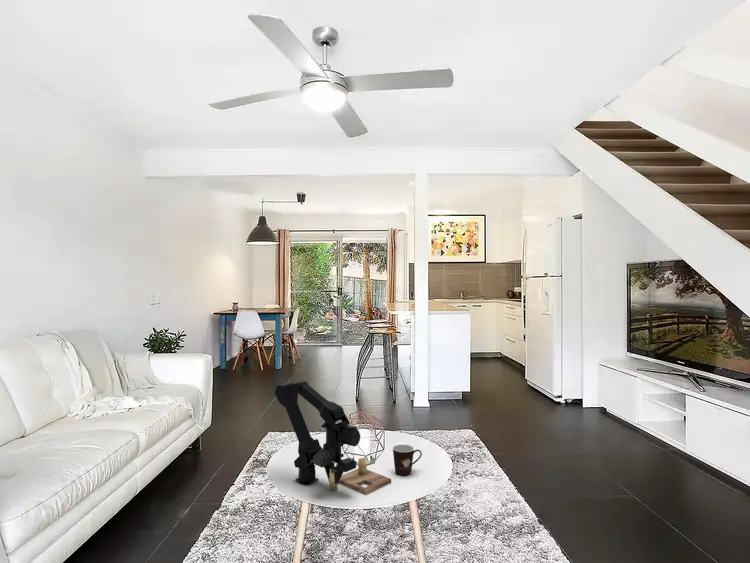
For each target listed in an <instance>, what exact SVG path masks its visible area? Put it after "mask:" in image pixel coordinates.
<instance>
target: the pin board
mask: <svg viewBox="0 0 750 563" xmlns="http://www.w3.org/2000/svg"><path fill="white" fill-rule="evenodd" d="M357 461H358V466H357V467H358V468H355V469H353V470H350V471H348V472H346V473H343V474H342V476H341V478H340V481H339V483H338V484H340V485H342V486H344V487H346V488H349V489H351V490H353V491H356V492H358V493H361V494H363V495H365V496H368V495H369V494H371V493H373V492H376V491H377V490H379V489H381V488H383V487H386V486H387V485H389V484H392V478H391V477H387V476H385V475H383V474H380V473H378V472H375V471H373V470H369V469H367V462H368V461H367V458H365V457H359V458H358V459H357ZM364 485H366V486H364Z"/></svg>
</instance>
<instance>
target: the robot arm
mask: <svg viewBox="0 0 750 563" xmlns="http://www.w3.org/2000/svg"><path fill="white" fill-rule="evenodd" d="M274 395H275V398H276V399H277V401H278V403H279V404H280V405H281V406H283V407H284V408H285V410H286V414H287V415H288V418H289V420H290V423H291V425H292V428H293V431H294V434H295V436H296V439H297V441H298V447H297V452H298V456H297V458H296V459H295V460H294V461H293V464H294V467H295V468H297V469H298V477H297V478H295V480H294V481H295V482H297V483H299V484H302V485H304V486H308V485H310V484H313V483H315V482H317V481H319V478H317V477H316V467H317V466H318V467H319V468H322V469H324V471H325V474H326V477H327V480H328V481H329V468H330V467H332V466H336V467H333V468H332V469H333V470H334V472H335V484H338V485H339V484H340V483H339V481H340V478H341V476H342V475H344V473H349V472H351V471H353V470H356V469H357V461H356V460H355V459H352V458H350V457H346V458H343V457H345V456H344V453H342V447H344V445H346V446H351V447H357V446H358V445H359V443H360V440H361V433H360V430H359V429H358V427H357V426H355V425H350V424H351V422H350V421H349V418H348V417H347V415H346V413H345V410H344V408H343V407H342V406H341V405H339V404H338V403H336V402H333V401H329V400H327V399H326V398H325V397H324V396H322V395H321V394H320V393H319V392H318V391H316V390H315V389H314V388H313V387H311V386H310V385H309V384H308V382H307V381H306V380H301V381H297V382H295V383H293V382H291V381H289V382H286V383H282V384H279V385H276V387H275V390H274ZM299 396H301V397H302V398H303V399H304V400H305V401H307V402H308V403H309V404H310V405H311V406H313V407H314V408H315V409H316V410H317V411H318V413H319V416H320V418H321V419H322V420H323V421H324V423H323V424H321V425H320V426H321V428H324V429H325V443H323V445H322V446H321V444H320V440H319V439H318V438H316V439H314V438H313V437H312V436H311V434H310V431H309V429H308V426H307V423H306V421H305V418H304V415H303V414H302V411H301V408H300V406H299V404H298V399H299V398H298V397H299ZM342 458H343V459H342Z"/></svg>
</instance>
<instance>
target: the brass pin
mask: <svg viewBox="0 0 750 563" xmlns="http://www.w3.org/2000/svg"><path fill="white" fill-rule="evenodd" d="M333 467H336V465H334V466H332V467H330V468H329V480H328V482H329V483H328V490H329V491H330V492H337V491H338V490H339V486H338V485H339V483H338V484H335V472H334V470H333V469H332V468H333Z"/></svg>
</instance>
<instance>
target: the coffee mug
mask: <svg viewBox="0 0 750 563" xmlns="http://www.w3.org/2000/svg"><path fill="white" fill-rule="evenodd" d="M417 452H419V453H420V454H419V456H418V458H417V459H416V460H413V459H414V455H415V453H417ZM392 454H393V463H394V471H395V472H394V473H395V475H396V476H399V477H408V476H411V474H412V469H413V465H414V464H416V463H417V462H418V461H419V460H420V459H421V458H422V455H423V452H422V450H420V449H415V448H414V446H412V445H409V444H397V445H393V446H392Z"/></svg>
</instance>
